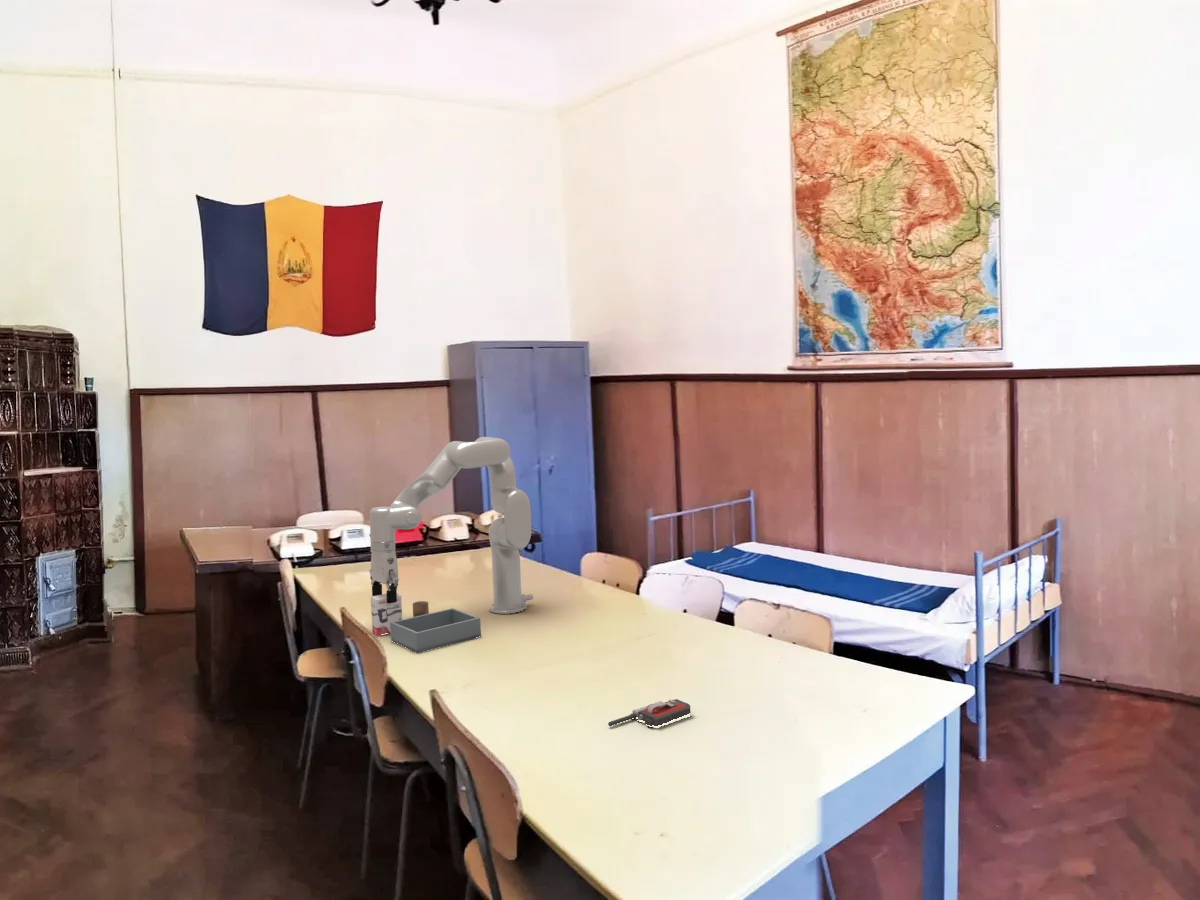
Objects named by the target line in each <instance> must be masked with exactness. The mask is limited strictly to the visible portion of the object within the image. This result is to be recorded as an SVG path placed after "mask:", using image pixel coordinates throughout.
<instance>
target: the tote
mask: <svg viewBox="0 0 1200 900" xmlns="http://www.w3.org/2000/svg"><path fill="white" fill-rule="evenodd" d="M390 626H391V634H390V642H391V641H393V642H395V643H398V644H400V645H402V646H404V647H406V648H408V649H410V650H409V651H411V650H412V651H411V652H413V651H414V653H415V652H416V653H415V654H420V653H419V652H421V653H424V652H423V651H425V652H428V651H427V650H429V651H432V650H431V649H433V650H436V649H435V648H437V649H439V648H438V647H441V648H444V647H448V646H452V645H456V644H459V642H460V643H463V641H464V642H466V640H468V641H470V640H469V639H472V640H475V639H477V638H476V637H479V636H481V637H482V628H481V627H482V626H481V617H478V616H476V615H473V614H471V613H467V612H464V611H461V610H459V609H456V608H452V607H451V608H448V609H443V610H439V611H435V612H431V613H430V612H429V614H425V615H421V616H417V617H413V616H412V617H409V618H404V619H403V618H402V620H399V621H395V622H390ZM474 638H475V639H474ZM479 638H480V637H479ZM393 642H392V643H393ZM395 643H394V644H395ZM451 644H452V645H451ZM400 645H399V646H400ZM447 645H448V646H447ZM402 646H401V647H402ZM443 646H444V647H443ZM404 647H403V648H404ZM406 648H405V649H406ZM408 649H407V650H408Z"/></svg>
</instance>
